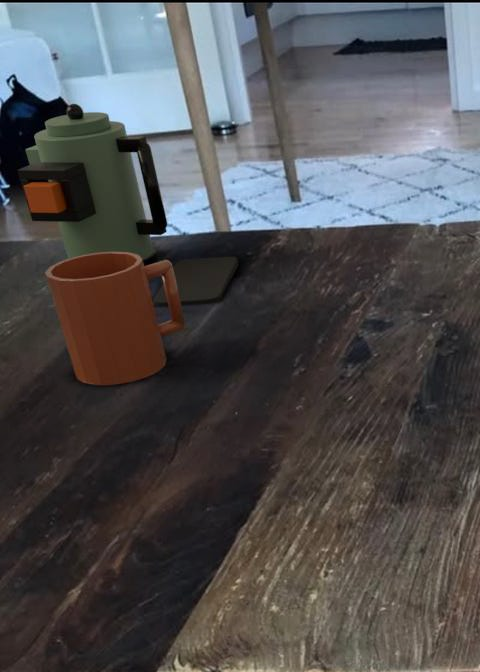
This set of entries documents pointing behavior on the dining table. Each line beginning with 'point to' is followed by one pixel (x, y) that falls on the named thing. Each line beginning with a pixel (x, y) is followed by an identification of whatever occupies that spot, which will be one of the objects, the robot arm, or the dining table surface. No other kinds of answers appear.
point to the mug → (113, 315)
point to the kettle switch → (45, 197)
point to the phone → (200, 280)
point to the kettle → (97, 184)
